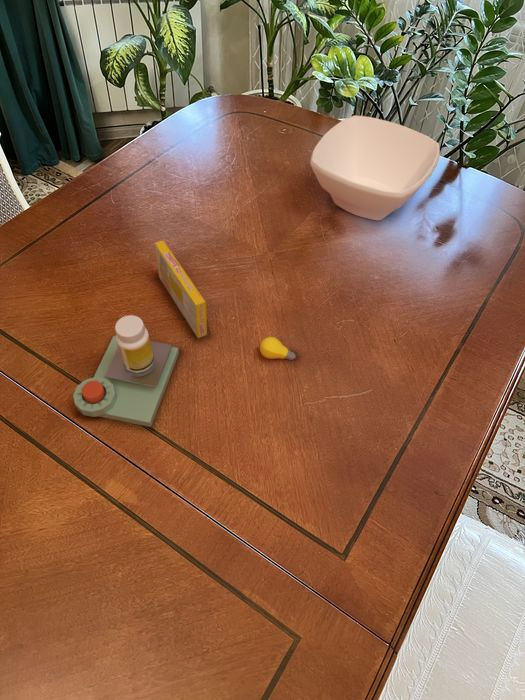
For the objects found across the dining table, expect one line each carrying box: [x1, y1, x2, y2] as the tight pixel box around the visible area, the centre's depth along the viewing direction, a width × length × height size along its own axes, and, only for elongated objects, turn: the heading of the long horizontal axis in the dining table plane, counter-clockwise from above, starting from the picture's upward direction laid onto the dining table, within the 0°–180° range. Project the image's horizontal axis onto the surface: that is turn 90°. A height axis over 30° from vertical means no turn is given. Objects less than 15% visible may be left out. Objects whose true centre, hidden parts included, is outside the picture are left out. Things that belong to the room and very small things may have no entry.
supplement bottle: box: [114, 314, 154, 373], centre depth 84 cm, size 5×5×8 cm
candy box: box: [154, 239, 208, 339], centre depth 95 cm, size 16×2×8 cm, turn 30°
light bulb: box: [259, 336, 296, 361], centre depth 91 cm, size 3×6×4 cm, turn 76°
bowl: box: [309, 114, 441, 221], centre depth 111 cm, size 22×22×12 cm
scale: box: [72, 335, 180, 428], centre depth 87 cm, size 15×12×3 cm
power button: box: [82, 381, 105, 403], centre depth 84 cm, size 3×3×2 cm
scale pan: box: [105, 340, 173, 388], centre depth 87 cm, size 8×8×1 cm
